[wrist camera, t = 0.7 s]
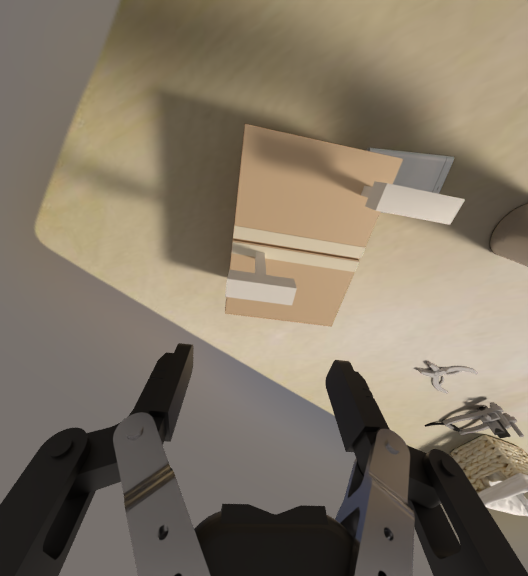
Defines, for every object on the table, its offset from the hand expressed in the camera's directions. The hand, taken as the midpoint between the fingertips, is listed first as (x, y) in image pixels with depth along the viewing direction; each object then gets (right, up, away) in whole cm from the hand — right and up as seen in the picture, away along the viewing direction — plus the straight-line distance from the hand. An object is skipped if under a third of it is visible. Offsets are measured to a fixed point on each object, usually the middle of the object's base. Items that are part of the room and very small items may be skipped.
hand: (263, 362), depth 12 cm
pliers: (+46, -18, +43) cm, 66 cm away
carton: (+4, +14, +23) cm, 27 cm away
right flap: (+3, +4, +17) cm, 18 cm away
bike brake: (+62, -36, +54) cm, 90 cm away
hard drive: (+20, +20, +21) cm, 35 cm away
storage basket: (+79, -53, +65) cm, 115 cm away
